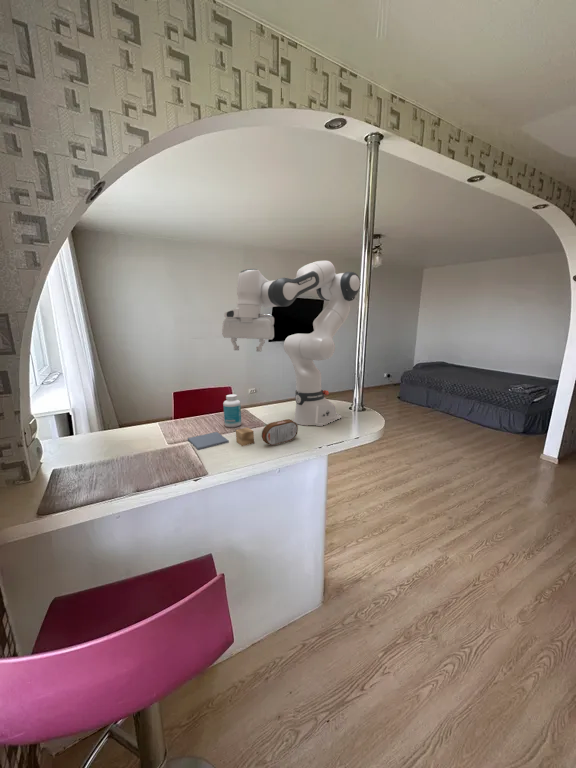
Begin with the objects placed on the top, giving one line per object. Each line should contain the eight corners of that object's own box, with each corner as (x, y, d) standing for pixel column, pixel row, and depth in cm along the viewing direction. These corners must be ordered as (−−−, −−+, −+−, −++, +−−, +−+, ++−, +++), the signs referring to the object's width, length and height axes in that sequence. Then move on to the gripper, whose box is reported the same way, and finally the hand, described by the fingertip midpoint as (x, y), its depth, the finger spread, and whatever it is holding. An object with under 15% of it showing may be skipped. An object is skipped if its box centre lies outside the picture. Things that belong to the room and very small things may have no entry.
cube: (248, 439, 129) (247, 427, 128) (254, 443, 125) (253, 430, 124) (236, 442, 126) (235, 430, 125) (242, 446, 122) (241, 433, 121)
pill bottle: (243, 426, 144) (241, 396, 141) (226, 428, 141) (224, 398, 139) (239, 421, 151) (237, 392, 148) (223, 423, 148) (221, 394, 145)
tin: (294, 437, 130) (294, 416, 129) (299, 439, 128) (299, 418, 126) (261, 446, 122) (260, 424, 120) (265, 448, 119) (265, 426, 118)
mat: (216, 433, 136) (216, 431, 136) (228, 442, 126) (228, 440, 126) (187, 440, 129) (187, 438, 129) (198, 450, 120) (197, 447, 119)
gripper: (277, 314, 123) (276, 352, 125) (228, 314, 129) (228, 349, 131) (271, 313, 117) (269, 352, 119) (220, 312, 123) (219, 349, 125)
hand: (247, 350), depth 125 cm, fingers open, 8 cm apart
